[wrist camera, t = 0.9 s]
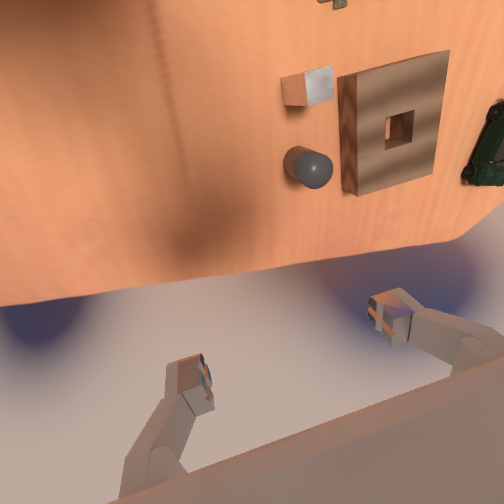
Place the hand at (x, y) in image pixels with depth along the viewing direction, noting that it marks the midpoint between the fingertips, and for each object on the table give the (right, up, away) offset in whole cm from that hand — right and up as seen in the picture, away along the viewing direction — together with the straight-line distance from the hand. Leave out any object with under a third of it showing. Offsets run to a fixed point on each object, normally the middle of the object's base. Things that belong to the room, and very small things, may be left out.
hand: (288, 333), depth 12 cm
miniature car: (+51, +28, +47) cm, 75 cm away
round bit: (+7, +21, +39) cm, 45 cm away
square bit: (+5, +31, +33) cm, 46 cm away
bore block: (+23, +28, +39) cm, 53 cm away
